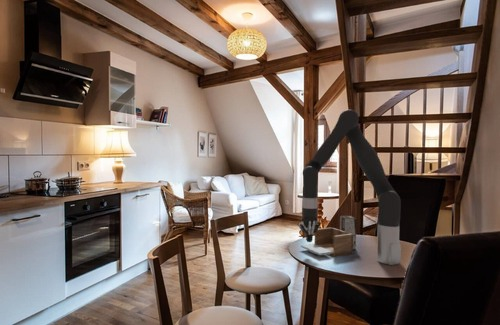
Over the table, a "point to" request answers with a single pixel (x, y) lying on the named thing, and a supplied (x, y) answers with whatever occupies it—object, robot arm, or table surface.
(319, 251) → the panel
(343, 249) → the pickup bed
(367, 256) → the table surface
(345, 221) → the coffee box
